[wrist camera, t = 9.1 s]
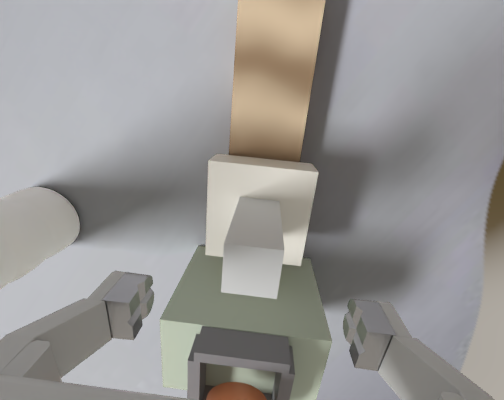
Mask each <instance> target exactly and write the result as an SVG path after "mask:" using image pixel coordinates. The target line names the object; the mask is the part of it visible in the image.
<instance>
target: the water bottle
mask: <svg viewBox="0 0 504 400" xmlns="http://www.w3.org/2000/svg"><path fill="white" fill-rule="evenodd" d="M79 230H80V221H79V217H78V214H77V212H76V210H75V208H74V207H73V206H72V204H71V203H70V202H69V201H68V200H67V199H66V198H65V197H63V196H62V195H61V194H59V193H57V192H55V191H53V190H50V189H47V188H43V187H30V188H26V189H23V190H19V191H17V192H14V193H11V194H9V195H6V196H4V197H2V198H0V290H1V289H2V288H3V287H4V286H5V285H7V284H8V283H11V282H13V281H15V280H17V279H19V278H21V277H23V276H24V275H26V274H27V273H29V272H30V271H32V270H33V269H35V268H36V267H37V266H38V265H40V264H41V263H42V262H43V261H44V260H45V259H47V258H49V257H51V256H53V255H55V254H57V253H58V252H60V251H62V250H63V249H65V248H66V247H68V246H69V245H70V244H72V243H73V242H74V241H75V239H76V238H77V236H78V234H79Z"/></svg>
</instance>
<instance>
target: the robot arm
mask: <svg viewBox="0 0 504 400" xmlns="http://www.w3.org/2000/svg"><path fill="white" fill-rule="evenodd" d="M152 284H153V280H152V276H150V275H144V274H137V273H130V272H121V271H114V272H112V273H111V274H110V275H109V276H108V277H107V278H106V279H105V280H104V281H103V282H102V283H101V285H100V286H99V287H98V288H97V289H96V290H95V291H94V292H93V293H92V294H91V295H90V296H89V297H88V298H87V299H81V300H79V301H77V302H75V303H73V304H71V305H68V306H66V307H64V308H62V309H60V310H58V311H56V312H54V313H52V314H49V315H47V316H45V317H43V318H41V319H39V320H37V321H35V322H33V323H30V324H28V325H26V326H24V327H22V328H20V329H18V330H16V331H13V332H11V333H9V334H7V335H6V336H5V337H3V338H2V339H1V340H0V400H193V399H186V398H178V397H171V396H163V395H155V394H148V393H140V392H133V391H125V390H117V389H110V388H102V387H95V386H87V385H79V384H72V383H64V382H62V380H61V378H62V377H63V376H64V375H66V374H67V373H68V372H70V371H71V370H72V369H73V368H75V367H76V366H77V365H79V364H80V363H81V362H83V361H84V360H85V359H87V358H88V357H89V356H90V355H92V354H93V353H94V352H96V351H97V350H98V349H100V348H101V347H102V346H103V345H105V344H106V343H107V342H109V341H110V340H111V339H112V338H118V339H128V340H134V339H135V337H136V335H137V334H138V332H139V330H140V329H141V327H142V319H144V318H145V317H147V316H148V314H149V313H150V311H151V308H152V305H153V301H154V292H153V291H152V289H151V288H150V287H151V286H152ZM348 309H349V312H348V313H346V314H345V317H344V321H343V330H344V335H345V338H346V340H347V341H348V342H349V343H350V344H351V347H350V350H349V351H350V354H351V358H352V361H353V364H354V367H355V368H361V369H367V370H374V371H378V373H379V374H380V375H381V377H382V378H383V379H384V380H385V381H386V382H387V384H388V385H389V386H390V387H391V388H392V390H393V391H394V392H395V393H396V394H397V396H398V397H399V398H400V399H401V400H494V399H493V398H492V396H490V395H489V394H488V393H486V392H485V391H484V390H483V389H481V388H480V387H478V386H477V385H476V384H475V383H473V382H472V381H471V380H470V379H468V378H467V377H466V376H464V375H463V374H462V373H461V372H459V371H458V370H457V369H455V368H454V367H453V366H452V365H450V364H449V363H448V362H446V361H445V360H444V359H443V358H441V357H440V356H439V355H437V354H436V353H435V352H433V351H432V350H431V349H430V348H428V347H427V346H426V345H424V344H423V343H422V342H421V341H419V340H418V339H417V338H412V336H411V335H410V333H409V331H408V330H407V328H406V326H405V325H404V323H403V321H402V320H401V318H400V317H399V315H398V313H397V312H396V310H395V308H394V307H393V305H392V304H391V303H390V302H380V301H369V300H359V299H350V301H349V303H348Z"/></svg>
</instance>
